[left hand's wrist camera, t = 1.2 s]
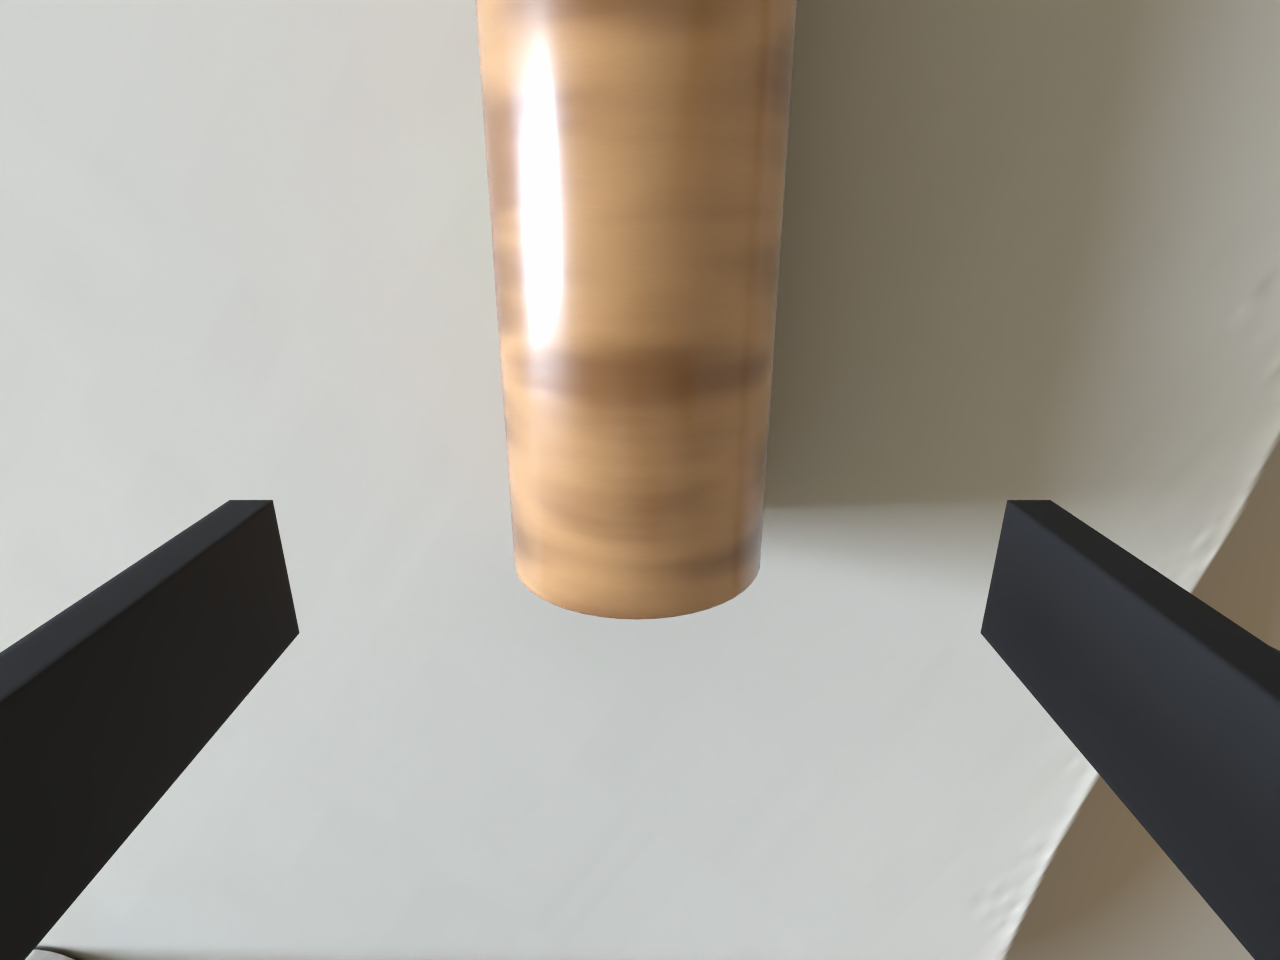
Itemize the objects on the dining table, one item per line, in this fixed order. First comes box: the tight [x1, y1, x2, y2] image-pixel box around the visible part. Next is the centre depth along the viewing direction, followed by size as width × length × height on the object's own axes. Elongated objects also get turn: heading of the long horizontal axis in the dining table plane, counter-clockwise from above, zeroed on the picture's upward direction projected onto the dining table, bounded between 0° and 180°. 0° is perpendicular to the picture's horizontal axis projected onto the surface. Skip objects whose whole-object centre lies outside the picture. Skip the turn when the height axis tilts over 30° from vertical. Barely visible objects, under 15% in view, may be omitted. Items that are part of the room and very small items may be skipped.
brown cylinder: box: [476, 0, 797, 619], centre depth 18 cm, size 28×8×8 cm, turn 0°
